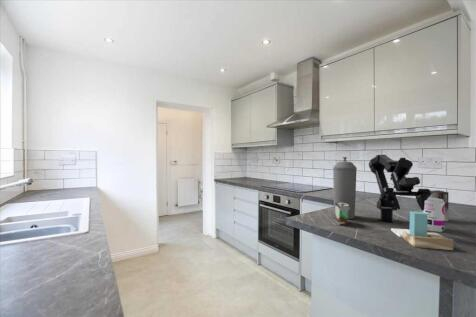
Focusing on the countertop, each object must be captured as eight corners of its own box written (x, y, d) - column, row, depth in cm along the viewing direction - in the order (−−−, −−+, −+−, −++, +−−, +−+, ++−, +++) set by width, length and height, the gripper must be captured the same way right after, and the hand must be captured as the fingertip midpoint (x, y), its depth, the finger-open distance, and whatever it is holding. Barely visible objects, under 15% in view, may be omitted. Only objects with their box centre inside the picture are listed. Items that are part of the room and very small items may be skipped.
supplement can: (444, 229, 112) (445, 198, 112) (444, 233, 106) (444, 201, 106) (423, 225, 118) (423, 196, 118) (421, 229, 112) (422, 198, 112)
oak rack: (402, 237, 101) (403, 228, 101) (437, 240, 98) (437, 231, 98) (414, 247, 91) (414, 236, 91) (453, 250, 88) (453, 239, 88)
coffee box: (438, 218, 132) (438, 190, 131) (448, 221, 125) (449, 192, 125) (422, 218, 131) (423, 190, 131) (432, 221, 125) (433, 192, 125)
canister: (335, 213, 143) (335, 156, 142) (358, 216, 136) (358, 156, 135) (329, 217, 133) (330, 157, 132) (354, 221, 125) (355, 157, 125)
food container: (352, 226, 116) (352, 207, 116) (339, 226, 118) (339, 206, 117) (346, 219, 128) (346, 202, 128) (334, 219, 130) (334, 201, 129)
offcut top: (424, 236, 98) (424, 232, 98) (435, 237, 97) (435, 232, 97) (433, 243, 92) (433, 238, 91) (445, 244, 90) (445, 239, 90)
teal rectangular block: (409, 240, 98) (409, 211, 98) (421, 241, 97) (422, 211, 97) (414, 244, 94) (414, 213, 94) (426, 245, 93) (427, 214, 93)
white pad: (391, 230, 111) (391, 228, 111) (412, 231, 109) (412, 229, 109) (399, 237, 102) (399, 234, 102) (423, 238, 100) (423, 236, 100)
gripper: (383, 170, 108) (392, 198, 98) (429, 171, 104) (444, 200, 93) (377, 184, 116) (385, 212, 105) (419, 186, 112) (433, 214, 101)
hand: (411, 209), depth 101 cm, fingers open, 9 cm apart
